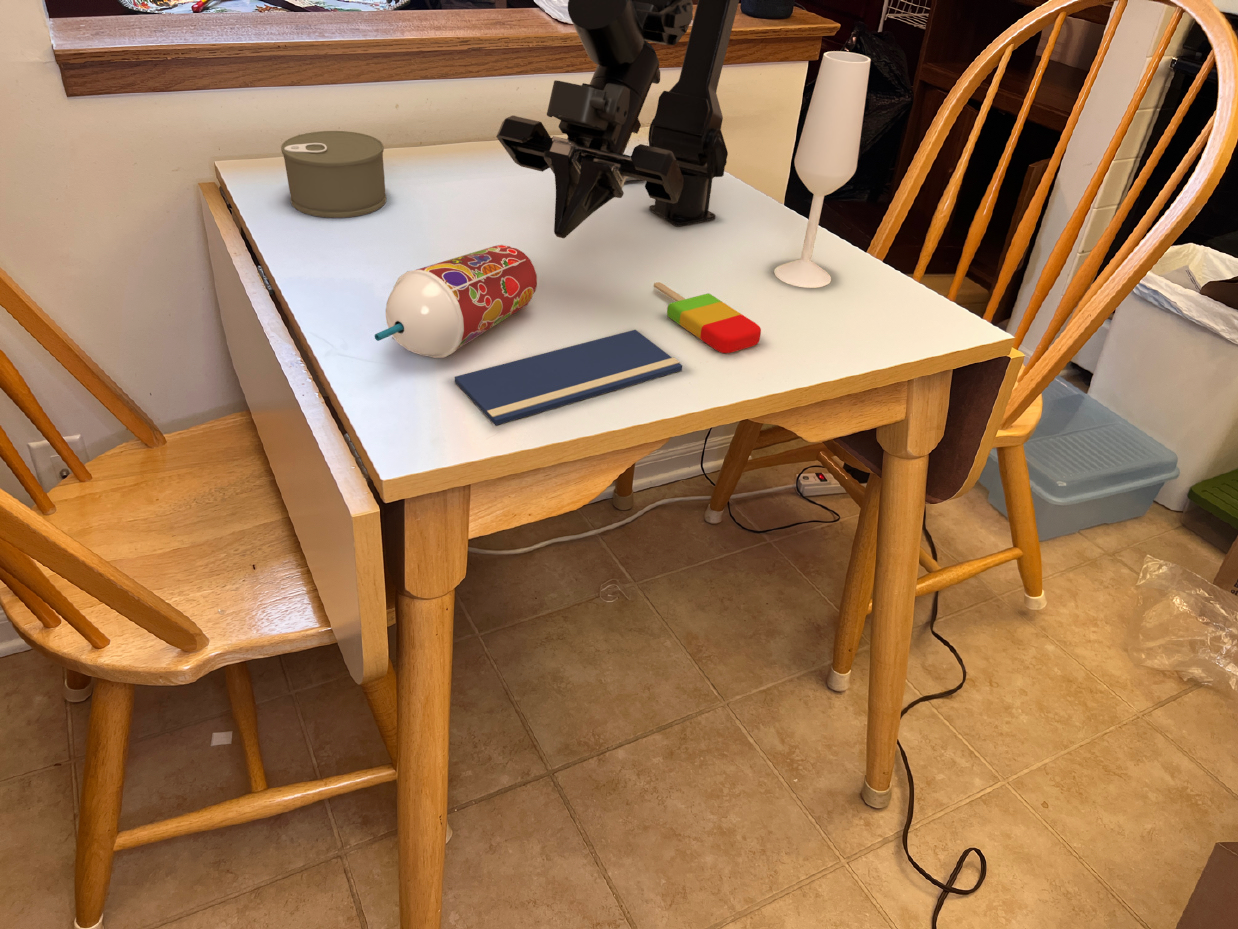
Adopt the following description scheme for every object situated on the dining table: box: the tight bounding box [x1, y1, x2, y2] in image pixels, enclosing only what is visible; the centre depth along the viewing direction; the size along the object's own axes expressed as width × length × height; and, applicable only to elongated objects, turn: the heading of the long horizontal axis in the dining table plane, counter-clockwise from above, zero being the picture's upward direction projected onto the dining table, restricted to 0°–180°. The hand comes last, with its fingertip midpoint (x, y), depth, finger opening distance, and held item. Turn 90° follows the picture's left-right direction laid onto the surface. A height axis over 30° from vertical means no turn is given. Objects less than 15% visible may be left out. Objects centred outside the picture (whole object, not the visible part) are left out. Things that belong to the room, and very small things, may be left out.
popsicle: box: [653, 281, 762, 354], centre depth 95 cm, size 6×15×2 cm, turn 35°
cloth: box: [454, 329, 683, 426], centre depth 85 cm, size 20×8×1 cm, turn 124°
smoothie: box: [374, 244, 538, 359], centre depth 87 cm, size 8×8×20 cm
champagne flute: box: [773, 50, 872, 289], centre depth 100 cm, size 7×7×24 cm
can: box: [280, 130, 387, 219], centre depth 113 cm, size 12×12×7 cm
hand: (558, 235), depth 90 cm, fingers closed
